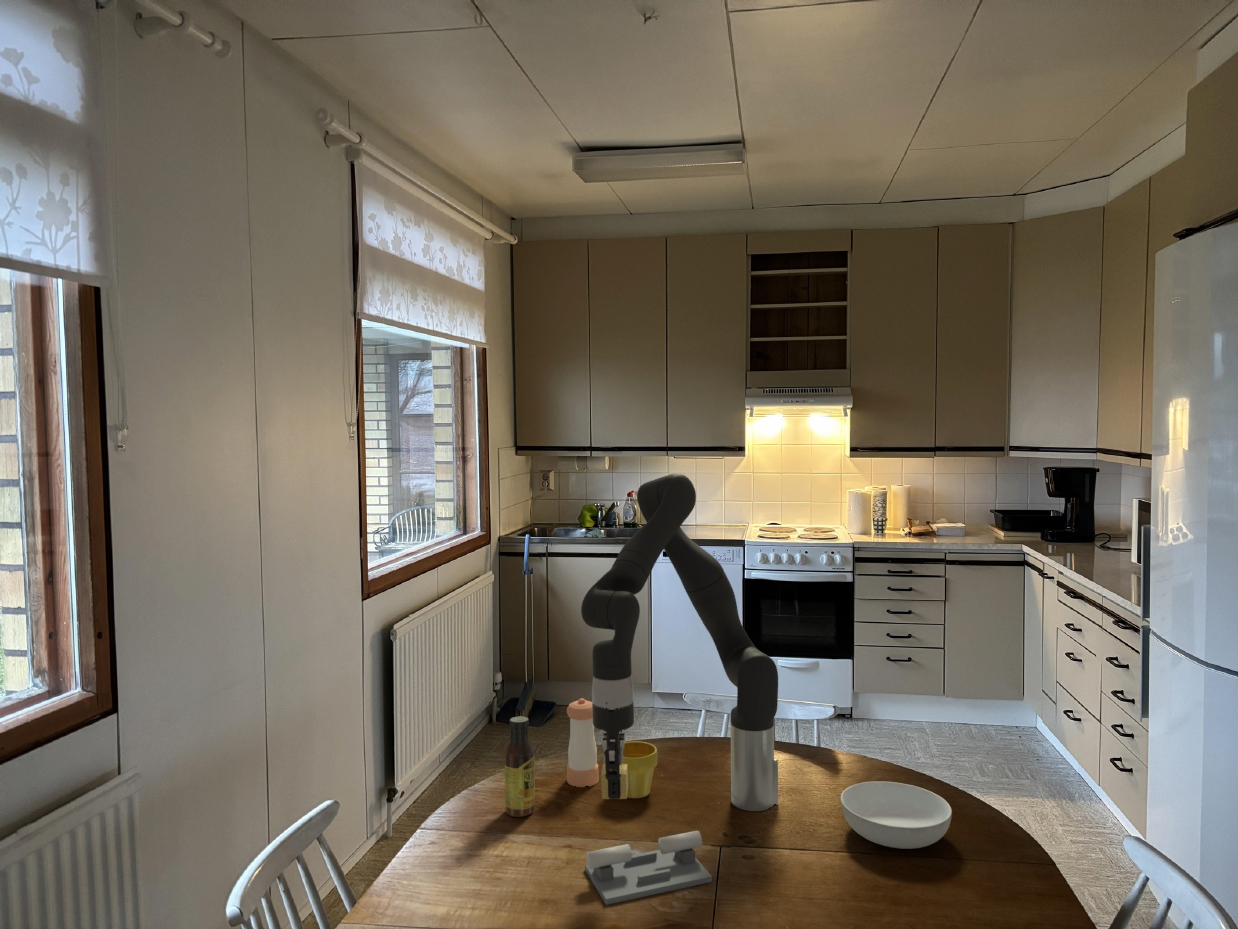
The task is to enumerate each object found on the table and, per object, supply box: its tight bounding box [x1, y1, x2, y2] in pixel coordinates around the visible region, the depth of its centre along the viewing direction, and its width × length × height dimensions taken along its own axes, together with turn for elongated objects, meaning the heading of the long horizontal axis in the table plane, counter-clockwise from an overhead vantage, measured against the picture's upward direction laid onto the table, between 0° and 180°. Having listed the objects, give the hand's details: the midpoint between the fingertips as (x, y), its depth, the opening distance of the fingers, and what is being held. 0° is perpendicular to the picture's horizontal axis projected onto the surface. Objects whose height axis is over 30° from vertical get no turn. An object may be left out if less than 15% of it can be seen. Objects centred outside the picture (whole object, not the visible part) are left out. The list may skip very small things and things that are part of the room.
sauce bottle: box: [504, 715, 536, 818], centre depth 174 cm, size 7×6×20 cm
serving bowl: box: [840, 780, 953, 850], centre depth 162 cm, size 21×21×7 cm
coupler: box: [600, 763, 628, 800], centre depth 149 cm, size 4×4×5 cm
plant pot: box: [622, 740, 658, 799], centre depth 183 cm, size 10×10×10 cm
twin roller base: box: [584, 830, 713, 906], centre depth 148 cm, size 22×12×6 cm, turn 110°
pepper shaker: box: [566, 697, 600, 788], centre depth 189 cm, size 7×7×19 cm
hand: (615, 791), depth 149 cm, fingers closed on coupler, 4 cm apart
